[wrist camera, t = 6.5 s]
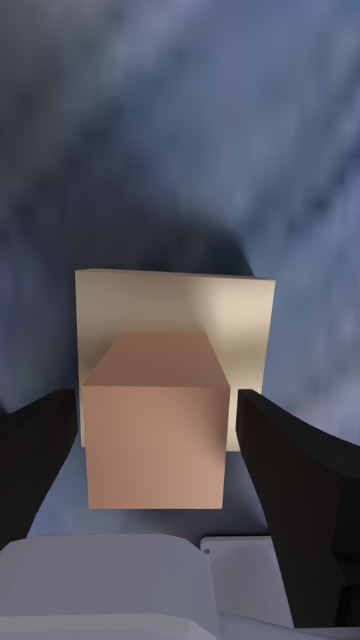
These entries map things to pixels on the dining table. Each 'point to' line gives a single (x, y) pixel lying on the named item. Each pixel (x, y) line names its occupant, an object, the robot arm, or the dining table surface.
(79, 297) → the birch base
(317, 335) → the dining table surface
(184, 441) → the terracotta block
